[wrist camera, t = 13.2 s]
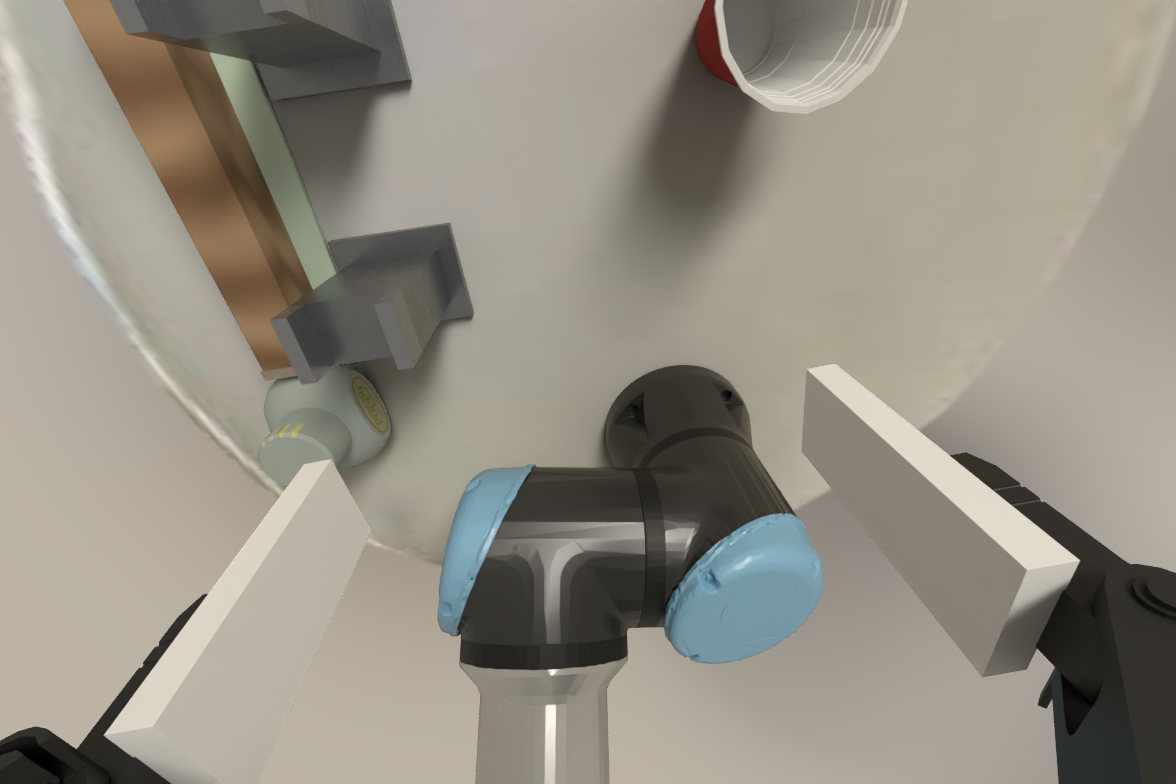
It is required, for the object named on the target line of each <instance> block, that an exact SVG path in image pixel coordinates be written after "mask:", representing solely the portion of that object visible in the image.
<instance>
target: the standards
mask: <svg viewBox="0 0 1176 784" xmlns="http://www.w3.org/2000/svg"><path fill="white" fill-rule="evenodd" d="M109 1H110V3H111V5H112V7H113V9H114V11H115V13H116V15H117V17H118V19H119V21H120V23H121V25H122V27H123V29H124V31H125V33H126V34H127V35H132V36H136V37H141V38H146V39H150V40H155V41H160V42H164V43H169V44H174V45H178V46H183V47H188V48H192V49H197V50H201V51H206V52H211V53H215V54H220V55H225V56H229V57H234V58H239V59H243V60H248V61H253V62H256V64H257V67H258V69H259V72H260V75H261V77H262V80H263V82H264V85H265V87H266V90H267V92H268V95H269V97H270V100H273V101H279V100H285V99H292V98H299V97H305V96H312V95H319V94H325V93H332V92H338V91H345V90H352V89H358V88H365V87H372V86H378V85H385V84H392V83H398V82H405V81H412V78H411V74H410V71H409V67H408V63H407V59H406V56H405V52H404V48H403V44H402V41H401V37H400V33H399V29H398V26H397V22H396V18H395V14H394V10H393V7H392V3H391V0H109ZM328 245H329V248H330V250H331V253H332V255H333V258H334V260H335V263H336V265H337V268H338V270H339V272H338V273H336V274H335V275H333V276H332V277H330V278H329V279H328V280H326V281H325V282H323V283H322V284H320V285H319V286H318V287H316V288H315V289H313V290H312V291H310V292H309V293H308V294H306V295H305V296H303V297H302V298H300V299H299V300H298V301H296V302H295V303H293V304H292V305H290V306H289V307H288V308H286V309H285V310H283V311H282V312H280V313H279V314H278V315H276V316H275V317H273V318H272V319H270V320H269V321H270V323H271V325H272V327H273V329H274V331H275V333H276V335H277V337H278V339H279V341H280V343H281V345H282V347H283V349H284V351H285V353H286V355H287V357H288V359H289V361H290V363H291V365H292V367H293V369H294V371H295V373H296V375H297V377H298V379H299V381H300V383H301V385H305V384H312V383H317V382H318V381H319V380H320V379H321V378H322V377H323V376H324V375H325V373H326V372H327V371H328V370H329V369H330V368H331V367H332V366H335V365H341V364H348V363H355V362H361V361H368V360H375V359H381V358H388V357H393V358H394V361H395V363H396V366H397V369H398V370H405V369H412V368H414V367H415V365H416V363H417V361H418V360H419V358H420V356H421V354H422V352H423V351H424V349H425V347H426V345H427V343H428V342H429V340H430V338H431V336H432V334H433V333H434V331H435V329H436V327H437V325H438V323H439V322H440V321H443V320H449V319H456V318H463V317H469V316H473V314H474V312H473V308H472V304H471V300H470V297H469V293H468V289H467V285H466V282H465V278H464V274H463V270H462V266H461V263H460V259H459V255H458V251H457V248H456V244H455V240H454V236H453V233H452V229H451V225H450V223H445V224H438V225H431V226H425V227H418V228H411V229H405V230H398V231H392V232H385V233H378V234H372V235H365V236H358V237H352V238H345V239H338V240H332V241H330V242H328Z"/></svg>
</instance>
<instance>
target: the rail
mask: <svg viewBox="0 0 1176 784" xmlns="http://www.w3.org/2000/svg"><path fill="white" fill-rule="evenodd" d="M63 1H64V3H65V5H66V6H67V8H68V10H69V12H70V14H71V16H72V17H73V19H74V21H75V23H76V25H77V27H78V29H79V30H80V32H81V34H82V36H83V38H84V40H85V42H86V43H87V45H88V47H89V49H90V51H91V53H92V55H93V56H94V58H95V60H96V62H97V64H98V66H99V68H100V69H101V71H102V73H103V75H104V77H105V79H106V80H107V82H108V84H109V86H110V88H111V90H112V92H113V93H114V95H115V97H116V99H117V101H118V103H119V105H120V106H121V108H122V110H123V112H124V114H125V116H126V118H127V119H128V121H129V123H130V125H131V127H132V129H133V130H134V132H135V134H136V136H137V138H138V140H139V142H140V143H141V145H142V147H143V149H144V151H145V153H146V155H147V156H148V158H149V160H150V162H151V164H152V166H153V168H154V169H155V171H156V173H157V175H158V177H159V179H160V181H161V182H162V184H163V186H164V188H165V190H166V192H167V193H168V195H169V197H170V199H171V201H172V203H173V205H174V206H175V208H176V210H177V212H178V214H179V216H180V218H181V219H182V221H183V223H184V225H185V227H186V229H187V231H188V232H189V234H190V236H191V238H192V240H193V242H194V243H195V245H196V247H197V249H198V251H199V253H200V255H201V256H202V258H203V260H204V262H205V264H206V266H207V268H208V269H209V271H210V273H211V275H212V277H213V279H214V281H215V282H216V284H217V286H218V288H219V290H220V292H221V294H222V295H223V297H224V299H225V301H226V303H227V305H228V306H229V308H230V310H231V312H232V314H233V316H234V318H235V319H236V321H237V323H238V325H239V327H240V329H241V331H242V332H243V334H244V336H245V338H246V340H247V342H248V344H249V345H250V347H251V349H252V351H253V353H254V355H255V356H256V358H257V360H258V362H259V364H260V366H261V368H262V369H263V371H262V372H261V373H262V375H263V377H264V379H265V381H266V380H273V379H279V378H286V377H293V376H297V375H296V373H295V371H294V369H293V367H292V365H291V363H290V361H289V359H288V357H287V355H286V353H285V351H284V349H283V347H282V345H281V343H280V341H279V339H278V337H277V335H276V333H275V331H274V329H273V327H272V325H271V323H270V321H269V320H270V319H272V318H273V317H275V316H276V315H278V314H279V313H280V312H282V311H283V310H285V309H286V308H288V307H289V306H290V305H292V304H293V303H295V302H296V301H298V300H299V299H300V298H302V297H303V296H305V295H306V294H308V293H309V292H310V291H312V290H313V289H312V287H311V284H310V282H309V280H308V277H307V275H306V273H305V271H304V268H303V266H302V264H301V261H300V259H299V257H298V255H297V252H296V250H295V248H294V245H293V243H292V241H291V239H290V236H289V234H288V232H287V229H286V227H285V225H284V223H283V220H282V218H281V216H280V213H279V211H278V209H277V207H276V204H275V202H274V200H273V197H272V195H271V193H270V191H269V188H268V186H267V184H266V181H265V179H264V177H263V175H262V172H261V170H260V168H259V165H258V163H257V161H256V159H255V156H254V154H253V152H252V149H251V147H250V145H249V143H248V140H247V138H246V136H245V133H244V131H243V129H242V126H241V124H240V122H239V120H238V117H237V115H236V113H235V110H234V108H233V106H232V104H231V101H230V99H229V97H228V94H227V92H226V90H225V88H224V85H223V83H222V81H221V78H220V76H219V74H218V72H217V69H216V67H215V65H214V62H213V60H212V58H211V56H210V53H209V52H206V51H201V50H197V49H192V48H188V47H183V46H178V45H174V44H169V43H164V42H160V41H155V40H150V39H146V38H141V37H136V36H132V35H127V34H126V33H125V31H124V29H123V27H122V25H121V23H120V21H119V19H118V17H117V15H116V13H115V11H114V9H113V7H112V5H111V3H110V1H109V0H63Z"/></svg>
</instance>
